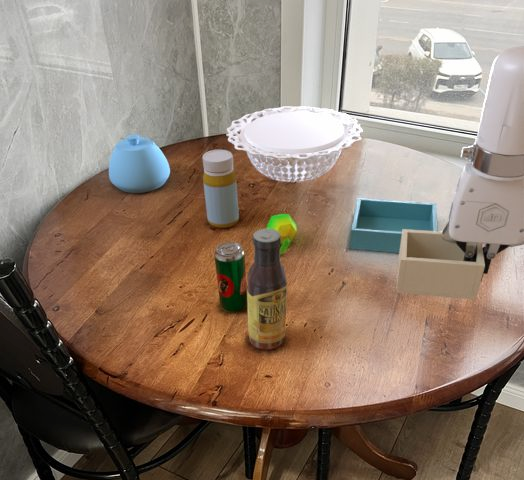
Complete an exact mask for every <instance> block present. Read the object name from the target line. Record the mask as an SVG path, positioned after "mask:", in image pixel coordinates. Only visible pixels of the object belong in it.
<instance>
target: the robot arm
mask: <svg viewBox="0 0 524 480" xmlns="http://www.w3.org/2000/svg"><path fill="white" fill-rule="evenodd" d="M460 158H461V159H466V160H468V161H467V162H466V163H465V165H464V168H463V170H462V172H461V175H460V177H459V180H458V183H457V186H456V188H455V191H454V195H453V198H452V202H451V205H450V210H449V214H448V221H447V223H446V225H445V226H444V228H443V230H442V231H441V232H442V239H443V240H445V241H448V242H451V243H456V244H457V245H458V246H459V247H460V249H461V250H462V251H463V252H464V253H465V255H464V260H463V261H467V262H476V249H475V244H476V243H482V244H485V245H484V246H482V248H483V255H484V262H485V268H484V272H483V275H482V279H481V282H482V281H483V277H484V274H485V275H487V274H489V270H490V267H491V263H492V260H494V259H495V258H496V256H497V255H498V254H500V253H501V252H504V251H506V249H508V248H513V247H514V248H515V247H520V246H524V45H521V46H513V47H511V48H506V49H504V50H502V51H501V52H500V53H499V54H497V55H496V57H495V58H494V61H493V62H492V65H491V69H490V72H489V79H488V83H487V88H486V92H485V97H484V101H483V107H482V111H481V115H480V121H479V125H478V130H477V135H476V138H474V142H473V143H472V145H469V146H468V147H467V146H462V148H461V153H460Z"/></svg>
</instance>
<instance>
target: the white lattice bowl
mask: <svg viewBox="0 0 524 480" xmlns="http://www.w3.org/2000/svg"><path fill="white" fill-rule="evenodd" d="M313 111H314V112H313ZM260 115H262V116H260ZM236 122H237V123H236ZM361 126H362V125H361V124H359V123H358V120H357V119H356V118H352V117H350V116H349V114H347V113H346V112H340V111H336V110H334V109H330V108H320V107H319V106H317V107H311V106H308V105H301V106H290V105H284V106H281V107H273V108H272V107H271V108H265V109H263V110H260V111H258V110H257V111H255V112H253V113H247V114H244V115H243V116H242V117H240V118H238V119H233V120H232V121H231V125H230V126H229V127H227V128H226V131H227V133H226V135H225V136H226V137H228V138H227V142H229V143H231V145H233V146H234V149H235V150H237V151H244V152H246V156H247V157H248V159H249V161H250V164H252V166H253V167H254V169H256V171H257V172H259V173H260V174H261V175H263V176H264V177H266V178H268V179H271V180H272V181H274V180H275V181H276V182H281V183H284V182H286V183H295V182H296V183H301V182H307V181H308V182H310V181H311V180H313V181H314V180H315V179H318V178H320V177H322V176H323V175H325V174H327V173H328V172H330V170H331V169H333V167H334V166H335V164H336V163H337V161H338V160H339V158H340V155H341V154H342V150H346V149H349V148H351V147H352V146H353V145H354V144H355V143H357V142H361V140H362V137H361V134H363V132H364V130H363V128H362V127H361ZM238 132H239V133H238ZM288 160H289V161H288Z"/></svg>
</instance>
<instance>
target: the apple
mask: <svg viewBox="0 0 524 480" xmlns="http://www.w3.org/2000/svg"><path fill="white" fill-rule="evenodd" d="M297 227H298V226H297V224H296V222H295V221H294V220H293V218H292V217H291V215H290V214H289V213H279V214H275V215H271V217H270V219H269V221H268V223H267V225H266V229H274V230H276V231H278V232H279V233H280V235H281V244H280V247H279V256H281V255H283V254H284V253H285V252H286V251H287V250H288V249H289V248H290V246H291V244H292V243H293V239H294V237H295V235H296V234H297V231H298V230H297Z"/></svg>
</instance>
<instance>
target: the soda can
mask: <svg viewBox="0 0 524 480" xmlns="http://www.w3.org/2000/svg"><path fill="white" fill-rule="evenodd" d="M213 255H214V263H215V264H214V265H215V274H216V281H217V282H216V283H217V288H218V289H217V290H218V300H219V306H220V307H221V309H222V310H224V311H225V312H228V313H238V312H241V311H242V310H244V309H245V308H246V307H248V304H247V286H248V282H247V270H246V257H245V251H244V249H243V247H242V245H241V244H240V243H238V242H235V241H225V242H222V243H219V244H218V245H217V246H216V248H215V252H214V254H213Z"/></svg>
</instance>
